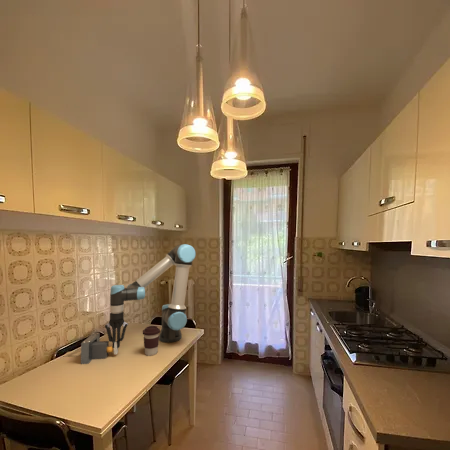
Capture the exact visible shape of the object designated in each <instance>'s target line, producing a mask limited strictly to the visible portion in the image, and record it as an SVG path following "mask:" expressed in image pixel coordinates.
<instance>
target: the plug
mask: <svg viewBox="0 0 450 450" xmlns="http://www.w3.org/2000/svg"><path fill="white" fill-rule="evenodd" d="M109 343H110V341H109V340H101V341H99V342H92V360H102V359H103V360H105V359H107V357H108V356H109V353H114V348H113V347H112V345H111V346H109ZM92 360H91V361H92Z"/></svg>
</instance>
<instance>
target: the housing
mask: <svg viewBox="0 0 450 450" xmlns="http://www.w3.org/2000/svg"><path fill="white" fill-rule="evenodd" d="M99 341H100V332H97V333H95V332H93V333H91V334H90V335H89V336H88V337H87V338H86V339H84V340H83V341H82V342H81V343H80V345H81V346H80V351H81V355H80V365H88V364H90V363H91V361H92V342H99Z"/></svg>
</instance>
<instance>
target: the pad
mask: <svg viewBox="0 0 450 450" xmlns="http://www.w3.org/2000/svg"><path fill="white" fill-rule="evenodd" d="M71 352H72V353H71ZM63 356H68V357H79V356H80V357H81V350H80V351H79V350H77V351H67V352H66V353H65V354H64V355H63Z"/></svg>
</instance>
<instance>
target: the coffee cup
mask: <svg viewBox="0 0 450 450" xmlns="http://www.w3.org/2000/svg"><path fill="white" fill-rule="evenodd" d="M160 332H161V330H160V328H159V327H158V326H157V325H149V326H146V327H145V328H144V329H143V330H142V335H143V347H144V354H145V355H146V356H148V357H151V356H154V355H157V354H158V352H159V351H158V350H159V341H160V340H159V335H160Z"/></svg>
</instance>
